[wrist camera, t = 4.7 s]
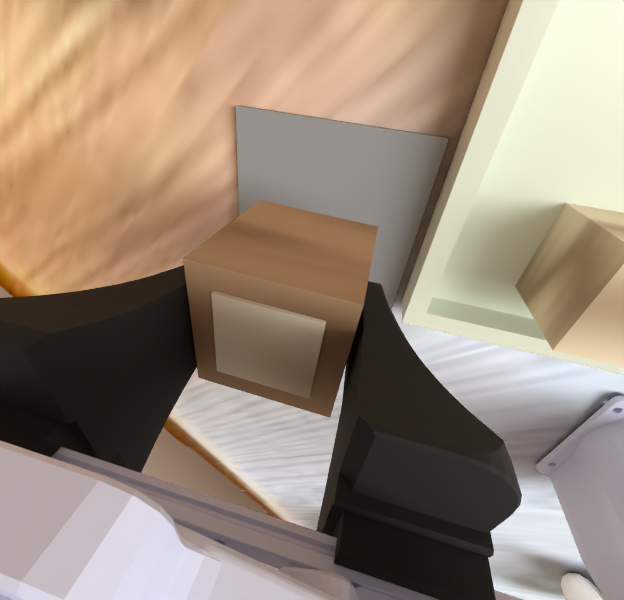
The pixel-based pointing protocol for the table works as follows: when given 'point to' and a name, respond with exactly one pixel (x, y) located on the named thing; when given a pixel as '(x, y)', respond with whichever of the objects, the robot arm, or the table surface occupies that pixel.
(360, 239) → the walnut block
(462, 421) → the robot arm
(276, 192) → the felt mat
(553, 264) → the maple block
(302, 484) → the table surface
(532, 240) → the parts tray
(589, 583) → the white knot sculpture
